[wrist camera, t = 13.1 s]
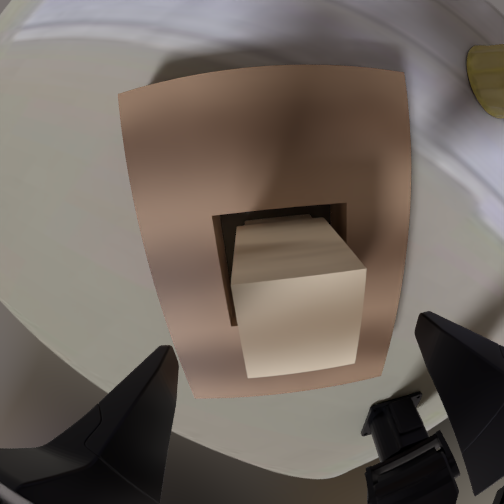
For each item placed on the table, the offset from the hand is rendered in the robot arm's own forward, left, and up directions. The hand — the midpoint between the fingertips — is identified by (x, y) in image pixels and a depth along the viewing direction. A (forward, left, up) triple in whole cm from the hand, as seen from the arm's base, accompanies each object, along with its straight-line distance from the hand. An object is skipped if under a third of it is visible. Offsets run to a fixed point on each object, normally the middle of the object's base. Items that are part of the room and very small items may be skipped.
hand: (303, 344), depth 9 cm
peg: (0, 0, -9) cm, 9 cm away
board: (0, 0, -9) cm, 9 cm away
